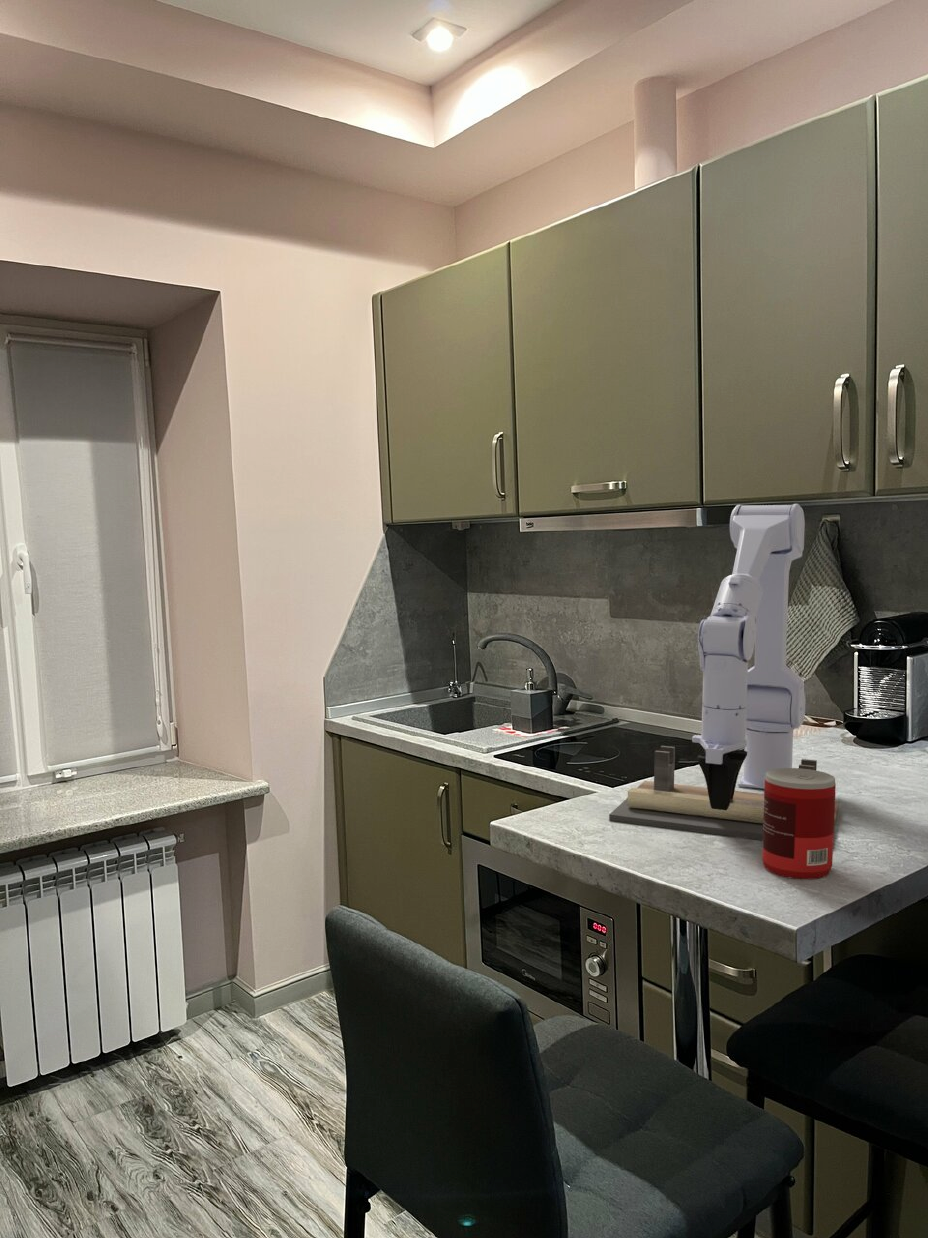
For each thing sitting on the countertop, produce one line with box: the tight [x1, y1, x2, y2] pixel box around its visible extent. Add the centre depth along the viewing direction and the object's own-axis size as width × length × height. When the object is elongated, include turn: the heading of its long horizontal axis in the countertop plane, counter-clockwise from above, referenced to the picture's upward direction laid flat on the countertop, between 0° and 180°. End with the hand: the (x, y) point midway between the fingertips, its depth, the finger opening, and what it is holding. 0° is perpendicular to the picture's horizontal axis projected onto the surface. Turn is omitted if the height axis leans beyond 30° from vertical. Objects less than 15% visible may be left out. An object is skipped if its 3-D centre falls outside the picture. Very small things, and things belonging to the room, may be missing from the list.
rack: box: [636, 745, 840, 827], centre depth 138 cm, size 9×28×7 cm, turn 66°
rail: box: [627, 787, 764, 823], centre depth 128 cm, size 2×25×2 cm, turn 66°
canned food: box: [761, 767, 837, 880], centre depth 110 cm, size 8×8×11 cm
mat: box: [608, 797, 763, 841], centre depth 129 cm, size 10×28×1 cm, turn 66°
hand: (721, 806), depth 128 cm, fingers closed on rail, 2 cm apart
